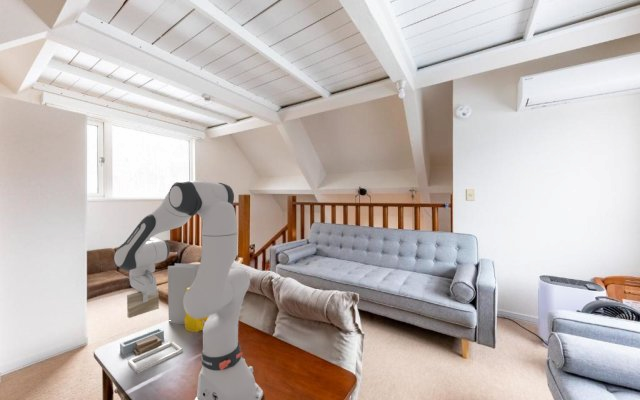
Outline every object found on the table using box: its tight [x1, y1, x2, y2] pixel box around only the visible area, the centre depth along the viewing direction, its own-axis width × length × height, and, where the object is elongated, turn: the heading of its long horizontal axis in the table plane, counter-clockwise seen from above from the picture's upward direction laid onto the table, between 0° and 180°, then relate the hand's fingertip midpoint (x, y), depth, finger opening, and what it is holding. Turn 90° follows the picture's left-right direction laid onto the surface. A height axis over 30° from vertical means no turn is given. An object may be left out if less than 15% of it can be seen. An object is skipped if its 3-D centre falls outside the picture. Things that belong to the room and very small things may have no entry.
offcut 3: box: [133, 343, 162, 356], centre depth 106 cm, size 5×9×1 cm, turn 143°
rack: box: [119, 327, 171, 361], centre depth 107 cm, size 12×15×4 cm
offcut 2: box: [136, 337, 162, 352], centre depth 106 cm, size 4×8×1 cm, turn 147°
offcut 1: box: [136, 336, 158, 348], centre depth 106 cm, size 4×7×1 cm, turn 137°
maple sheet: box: [126, 287, 160, 319], centre depth 108 cm, size 2×11×9 cm, turn 143°
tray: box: [127, 340, 184, 374], centre depth 101 cm, size 10×16×2 cm, turn 143°
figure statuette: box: [184, 287, 208, 333], centre depth 122 cm, size 18×8×22 cm, turn 71°
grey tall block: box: [167, 263, 200, 325], centre depth 130 cm, size 14×6×30 cm, turn 84°
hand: (143, 300), depth 108 cm, fingers closed on maple sheet, 2 cm apart
